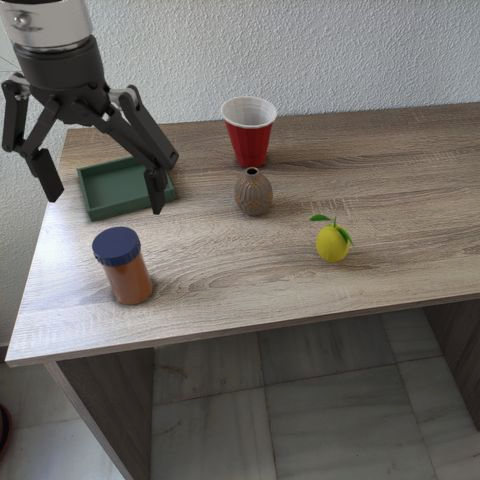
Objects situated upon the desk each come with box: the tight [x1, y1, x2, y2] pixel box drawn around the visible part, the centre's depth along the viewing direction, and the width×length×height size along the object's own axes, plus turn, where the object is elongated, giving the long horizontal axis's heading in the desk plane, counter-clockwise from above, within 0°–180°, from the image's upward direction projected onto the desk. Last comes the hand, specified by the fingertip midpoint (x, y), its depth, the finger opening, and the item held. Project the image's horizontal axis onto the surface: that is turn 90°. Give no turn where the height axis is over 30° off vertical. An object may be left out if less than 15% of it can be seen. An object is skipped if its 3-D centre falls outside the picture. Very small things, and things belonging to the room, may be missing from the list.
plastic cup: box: [219, 95, 278, 169], centre depth 93 cm, size 11×11×12 cm
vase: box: [233, 167, 274, 217], centre depth 84 cm, size 7×7×9 cm
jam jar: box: [100, 249, 154, 306], centre depth 69 cm, size 6×6×11 cm
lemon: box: [308, 213, 355, 263], centre depth 76 cm, size 7×6×10 cm
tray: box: [76, 155, 178, 223], centre depth 89 cm, size 15×13×2 cm
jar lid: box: [91, 225, 142, 267], centre depth 66 cm, size 6×6×2 cm
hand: (108, 202), depth 61 cm, fingers open, 13 cm apart
